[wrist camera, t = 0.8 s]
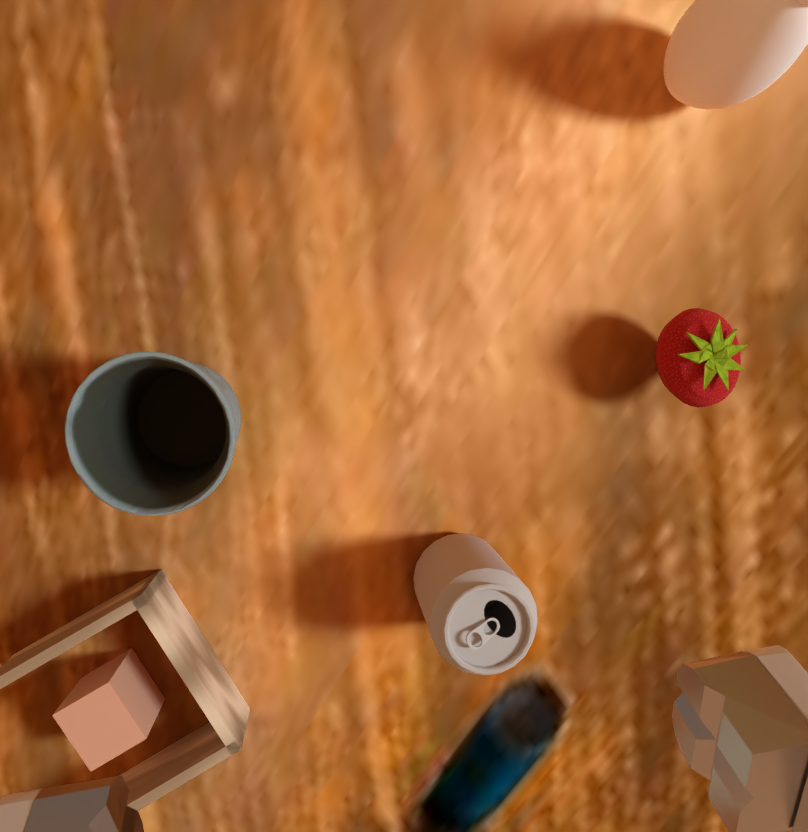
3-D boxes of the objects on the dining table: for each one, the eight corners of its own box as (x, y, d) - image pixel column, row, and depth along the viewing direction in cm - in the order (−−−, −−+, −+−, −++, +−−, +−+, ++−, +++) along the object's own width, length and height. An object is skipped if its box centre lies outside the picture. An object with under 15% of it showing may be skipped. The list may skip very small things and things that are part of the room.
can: (517, 585, 59) (566, 643, 47) (443, 636, 58) (473, 707, 47) (470, 513, 58) (507, 553, 46) (394, 564, 58) (411, 618, 46)
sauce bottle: (741, 41, 57) (930, -102, 39) (720, 138, 57) (897, 40, 40) (651, 17, 56) (802, -141, 38) (630, 116, 56) (771, 5, 39)
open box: (250, 708, 57) (241, 749, 51) (108, 792, 57) (82, 843, 51) (161, 569, 55) (141, 594, 50) (13, 654, 55) (-25, 690, 49)
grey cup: (133, 341, 54) (78, 337, 42) (265, 366, 55) (248, 369, 43) (111, 470, 54) (51, 502, 43) (242, 492, 56) (219, 529, 44)
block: (165, 698, 56) (146, 738, 51) (115, 727, 56) (90, 771, 50) (131, 647, 56) (108, 682, 50) (81, 676, 56) (52, 715, 50)
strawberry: (638, 409, 59) (701, 420, 49) (624, 319, 58) (685, 312, 48) (704, 395, 59) (780, 403, 49) (691, 306, 58) (765, 296, 48)
